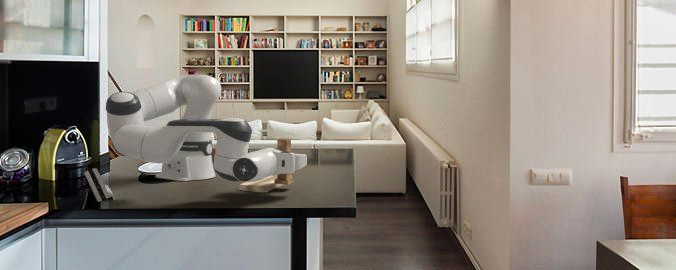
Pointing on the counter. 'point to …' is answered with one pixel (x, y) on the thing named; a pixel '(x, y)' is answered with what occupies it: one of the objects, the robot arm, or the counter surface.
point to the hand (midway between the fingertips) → (285, 156)
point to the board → (260, 185)
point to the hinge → (98, 185)
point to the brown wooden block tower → (286, 147)
